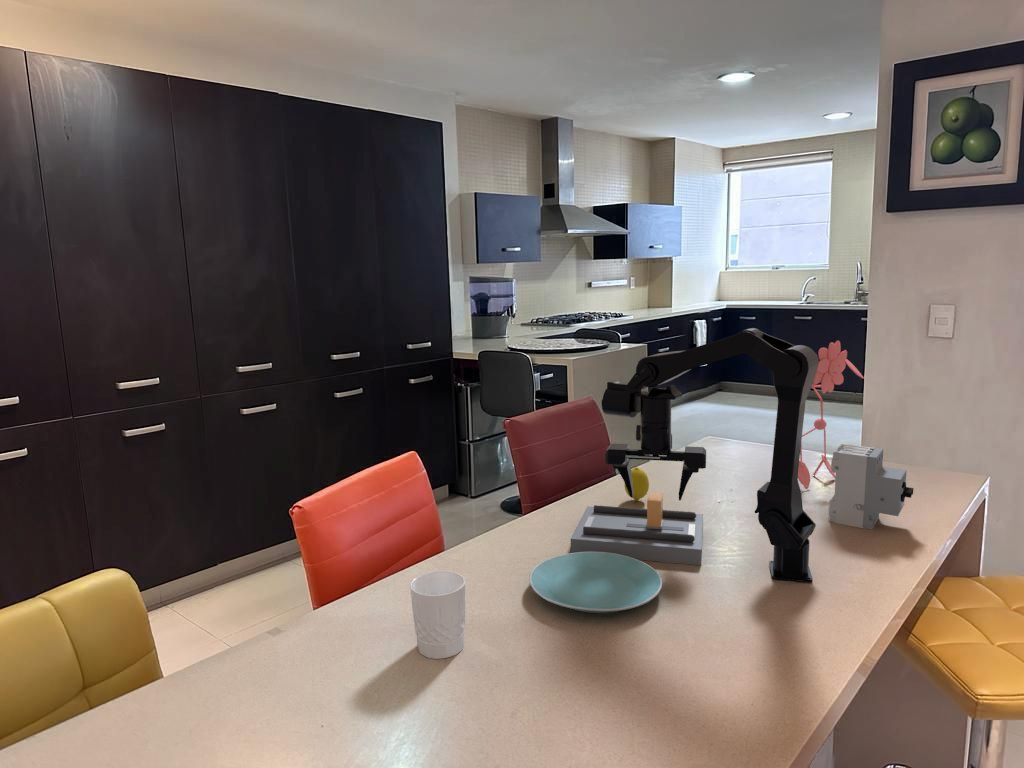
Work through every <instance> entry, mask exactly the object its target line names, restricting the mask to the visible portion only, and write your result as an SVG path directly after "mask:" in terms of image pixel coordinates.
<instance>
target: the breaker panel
mask: <svg viewBox="0 0 1024 768" xmlns="http://www.w3.org/2000/svg"><path fill="white" fill-rule="evenodd" d="M695 514H696V518H695V519H683V518H669V517H662V520H663V527H662V529H651V528H646V524H647V516H641V515H627V514H614V513H600V512H594V506H586V508H585V510H584V512H583V514H582V516H581V518H580V519H579V521H578V523H577V525H576V527H575V529H574V532H573V534H572V536H571V537H570V553H576V552H607V553H614V554H620V555H624V556H628V557H631V558H634V559H637V560H639V561H647V562H648V561H651V562H660V563H661V562H662V563H674V564H684V565H697V566H702V561H703V560H702V556H703V555H702V553H703V533H704V513H703V514H700V513H695ZM584 526H585V527H598V528H611V529H623V530H636V531H649V532H662V533H675V534H687V535H693V536H694V538H695V540H694V541H693V542H678V541H666V540H654V539H641V538H629V537H617V536H604V535H592V534H583V527H584Z"/></svg>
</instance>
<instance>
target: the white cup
mask: <svg viewBox="0 0 1024 768" xmlns="http://www.w3.org/2000/svg"><path fill="white" fill-rule="evenodd" d="M409 588H410V598H411V606H412V607H411V608H412V616H413V617H412V618H413V622H414V631H415V635H416V644H417V650H418V652H419V653H420V654H421V655H422V656H424V657H425V658H428V659H433V660H439V659H442V660H443V659H447V658H450V657H451V658H452V657H454V656H456V655H457V654H459V653H460V652H461V651H462V650H464V649H463V648H464V646H465V627H466V578H465V577H464V576H463V575H461V574H460V573H458V572H455V571H451V570H450V571H449V570H434V571H429V572H425V573H423V574H420V575H418V576H416V577H414V578H413V579H412V580H411V582H410V584H409Z"/></svg>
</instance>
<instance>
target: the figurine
mask: <svg viewBox="0 0 1024 768" xmlns="http://www.w3.org/2000/svg"><path fill="white" fill-rule="evenodd" d="M841 348H842V347H841V341H840V340H836V341H835V342H830V343H829V345H828V348H826V347H820V348H819V350H818V360H819V364H818V368H817V372H816V375H815V378H814V382H813V384H812V387H811V389H813V392H815V394H816V396H817V397H818V399H819V400H820V405H819V406H820V418H816V420H815V421H814V422H813V426H814V428H812V429H811V430H809V431H807V432H806V433H804V434H803V433H802V437H805V436H807V435H808V434H810V433H812V432H813V431H816V430H818V431H822V430H823V445H824V446H823V449H824V451H823V452H824V454H821V455H820V456H821V460H820V462H819V464H818V466H817V467H816V469H815V470H814V472H813V473H812V476H813V475H814V476H813V477H816V474H817V473H818V472H819V470H820V468H821V466H822V465H823V463H824V465H825V467H826V469H827V470H828V472H829V473H830V475H831V476H832V477H833V478H834V479H835V478H836V473H834V472H831V464H830V462H829V460H828V458H827V448H826V447H827V443H826V441H827V439H826V436H827V434H826V433H827V432H826V427H827V421H826V420H825V419H824V411H823V410H824V401H823V398H822V396H821V394H820V393H819V392H818V390H817V389H816V388H820V389H821V393H822V394H826V393H827V392H828V393H830V394H831V393H832V392H833V391H834V388H835V385H838V386H841V385H842V384H844V380H845V379H844V375H843V371H844V370H845V369H846V366H848V367H849V369H850V370H851V371H852V372H853V373H854V374H855V375H856V376H857V377H860V379H865V377H864V376H863V375H862V373H861V372H860V371H859V369H858V368H857V367H856V366H855V365H854V364H853V363H852V362H851V361H850V360H848V351H847V349H844V350H843V351H841V350H842V349H841ZM819 383H821V384H819ZM802 447H803V443H801V449H800V459H799V469H798V482H800V484H801V485H802V486H803V488H805V489H804V490H806V489H807V490H808V489H809V486H810V483H811V473H810V470H809V469H808V467H807V465H806V463H805V462H804V461H803V451H802V450H803V449H802Z"/></svg>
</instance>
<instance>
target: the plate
mask: <svg viewBox="0 0 1024 768" xmlns="http://www.w3.org/2000/svg"><path fill="white" fill-rule="evenodd" d="M529 585H530V587H531V588H532V590H533V591H534V592H535V594H537V595H538V596H539V597H540V598H542V599H543V600H544V601H546V602H549V603H551V604H553V605H556V606H559V607H563V608H567V609H569V608H570V610H572V609H573V611H577V612H581V613H591V614H608V613H609V612H610V613H615V612H619V611H620V612H621V611H627V610H630V609H634V608H638V607H641V606H643V605H645V604H647V603H650V602H651V601H652V600H653V599H654V598H656V597H657V596H658V595H659V593H660V592H661V590H662V587H663V579H662V576H661V575H660V573H659V572H658V571H657V570H656V569H655V568H654V567H652V566H651V565H649V564H647V563H645V562H644V561H643V560H637V559H634V558H631V557H628V556H624V555H620V554H614V553H607V552H576V553H571V552H570V553H564V554H560V555H557V556H553V557H550V558H547V559H545V560H543V561H541V562H540V563H538V564H537V565H536V566H534V568H533V569H532V570H531V572H530V574H529Z"/></svg>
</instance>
